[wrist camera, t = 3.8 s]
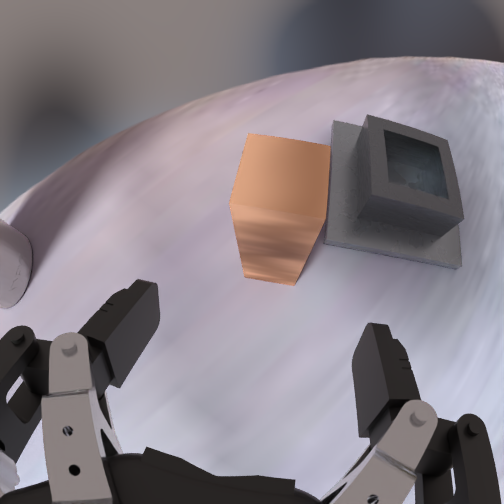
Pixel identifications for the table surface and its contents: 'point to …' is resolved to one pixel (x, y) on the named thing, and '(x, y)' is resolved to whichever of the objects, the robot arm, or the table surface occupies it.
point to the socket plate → (393, 193)
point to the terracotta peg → (279, 205)
